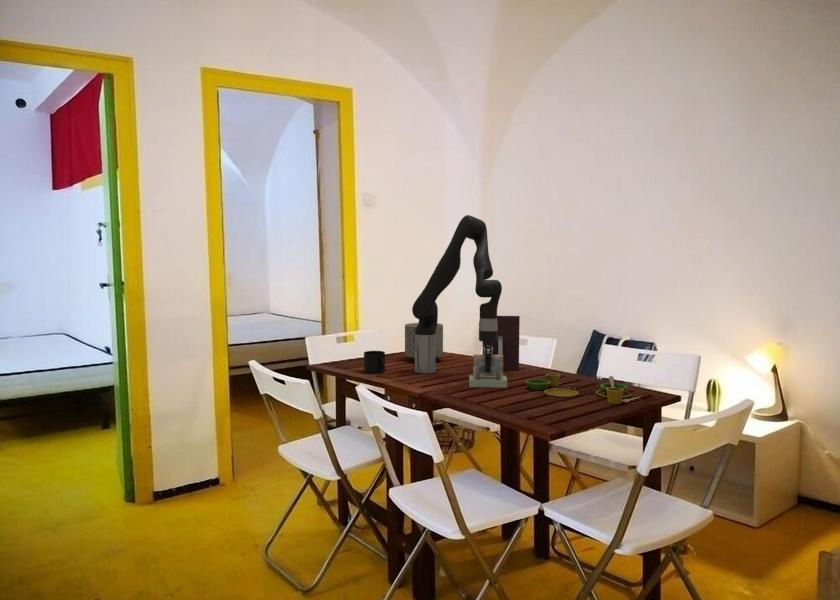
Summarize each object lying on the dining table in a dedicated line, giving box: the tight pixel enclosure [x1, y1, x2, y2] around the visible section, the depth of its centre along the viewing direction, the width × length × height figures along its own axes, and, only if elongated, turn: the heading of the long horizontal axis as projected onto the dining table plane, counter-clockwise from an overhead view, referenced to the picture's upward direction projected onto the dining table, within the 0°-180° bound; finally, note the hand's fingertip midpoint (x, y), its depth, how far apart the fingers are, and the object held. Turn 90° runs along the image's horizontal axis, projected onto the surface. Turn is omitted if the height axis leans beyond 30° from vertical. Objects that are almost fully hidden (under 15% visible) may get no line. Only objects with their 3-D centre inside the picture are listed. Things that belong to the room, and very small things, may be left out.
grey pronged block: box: [468, 369, 508, 389], centre depth 258 cm, size 15×9×7 cm, turn 85°
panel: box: [472, 354, 504, 376], centre depth 258 cm, size 12×4×8 cm, turn 85°
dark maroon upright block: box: [481, 315, 521, 371], centre depth 288 cm, size 17×10×25 cm, turn 84°
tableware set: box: [524, 372, 641, 405], centre depth 243 cm, size 41×28×6 cm
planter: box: [404, 322, 444, 362], centre depth 317 cm, size 19×19×18 cm
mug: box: [363, 350, 386, 375], centre depth 286 cm, size 9×12×9 cm
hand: (487, 371), depth 258 cm, fingers open, 4 cm apart
